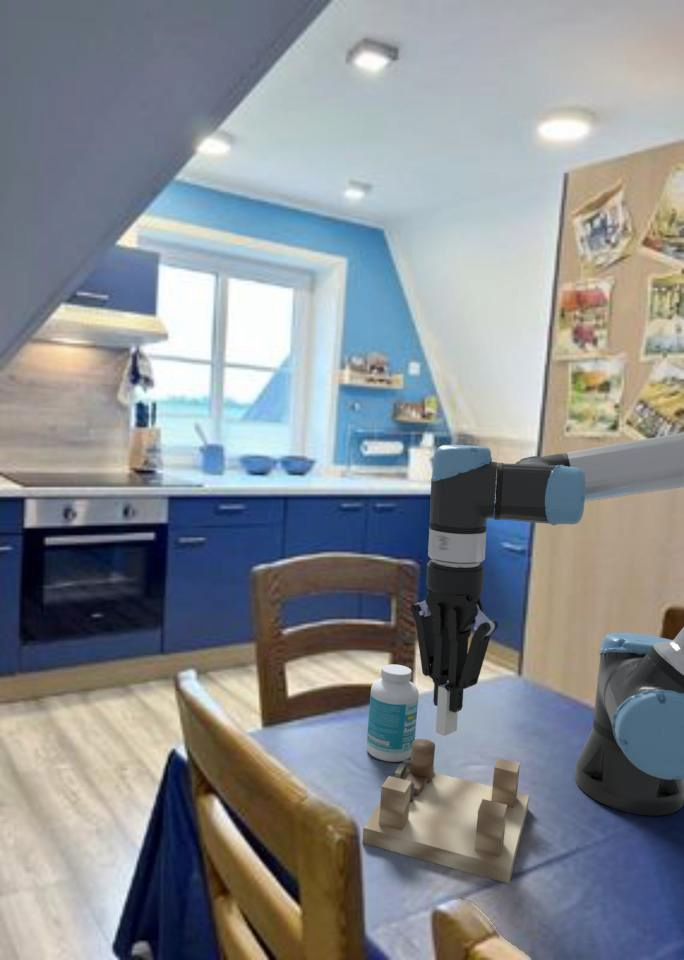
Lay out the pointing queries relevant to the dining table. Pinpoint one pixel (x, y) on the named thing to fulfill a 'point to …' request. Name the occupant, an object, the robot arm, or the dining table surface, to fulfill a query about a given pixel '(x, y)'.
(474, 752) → the dining table surface
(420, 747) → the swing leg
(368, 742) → the pill bottle
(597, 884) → the dining table surface
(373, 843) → the stool seat
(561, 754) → the dining table surface
